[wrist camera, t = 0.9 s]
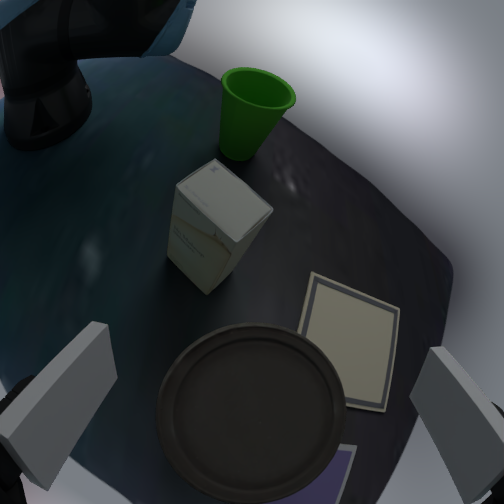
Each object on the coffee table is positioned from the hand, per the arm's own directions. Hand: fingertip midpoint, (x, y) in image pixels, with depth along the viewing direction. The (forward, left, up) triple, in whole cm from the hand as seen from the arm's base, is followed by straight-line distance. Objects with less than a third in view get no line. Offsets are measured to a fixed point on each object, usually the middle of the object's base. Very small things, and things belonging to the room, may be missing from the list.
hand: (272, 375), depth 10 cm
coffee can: (+2, +1, -18) cm, 18 cm away
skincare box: (-11, -5, -18) cm, 22 cm away
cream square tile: (-8, +14, -18) cm, 24 cm away
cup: (-29, -7, -18) cm, 35 cm away
